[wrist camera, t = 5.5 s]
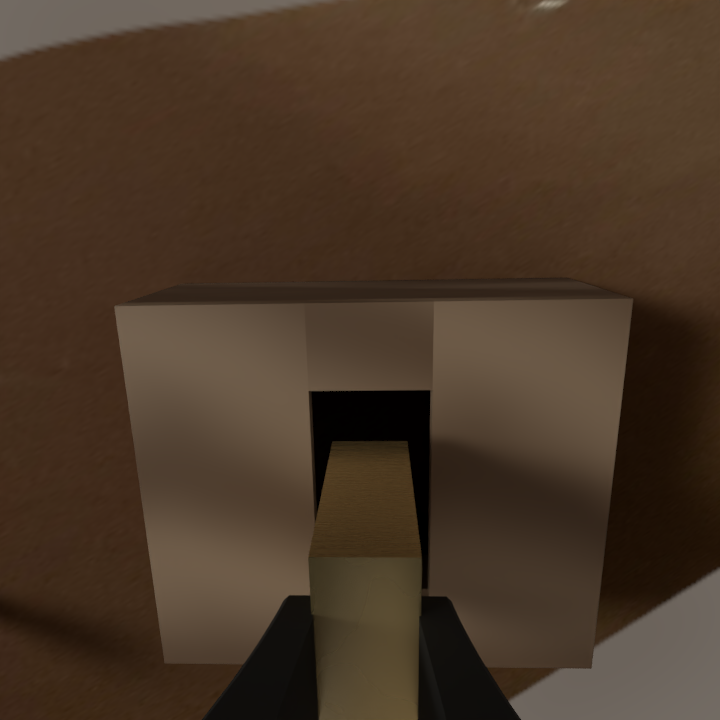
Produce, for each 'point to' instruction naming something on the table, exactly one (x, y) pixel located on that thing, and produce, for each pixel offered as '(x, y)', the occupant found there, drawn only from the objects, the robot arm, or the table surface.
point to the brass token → (366, 584)
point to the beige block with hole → (446, 462)
